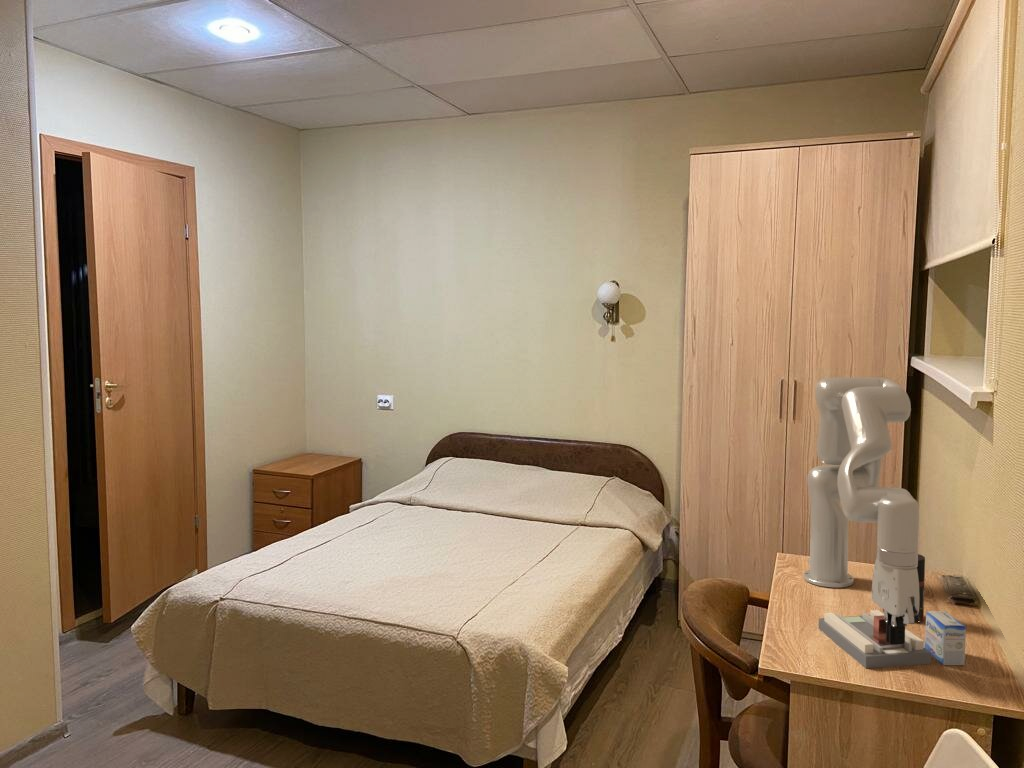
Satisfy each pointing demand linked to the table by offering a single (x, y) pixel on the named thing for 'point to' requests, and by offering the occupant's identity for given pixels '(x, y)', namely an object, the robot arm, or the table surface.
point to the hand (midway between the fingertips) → (895, 642)
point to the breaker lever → (881, 633)
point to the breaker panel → (872, 642)
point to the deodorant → (920, 587)
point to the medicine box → (945, 638)
